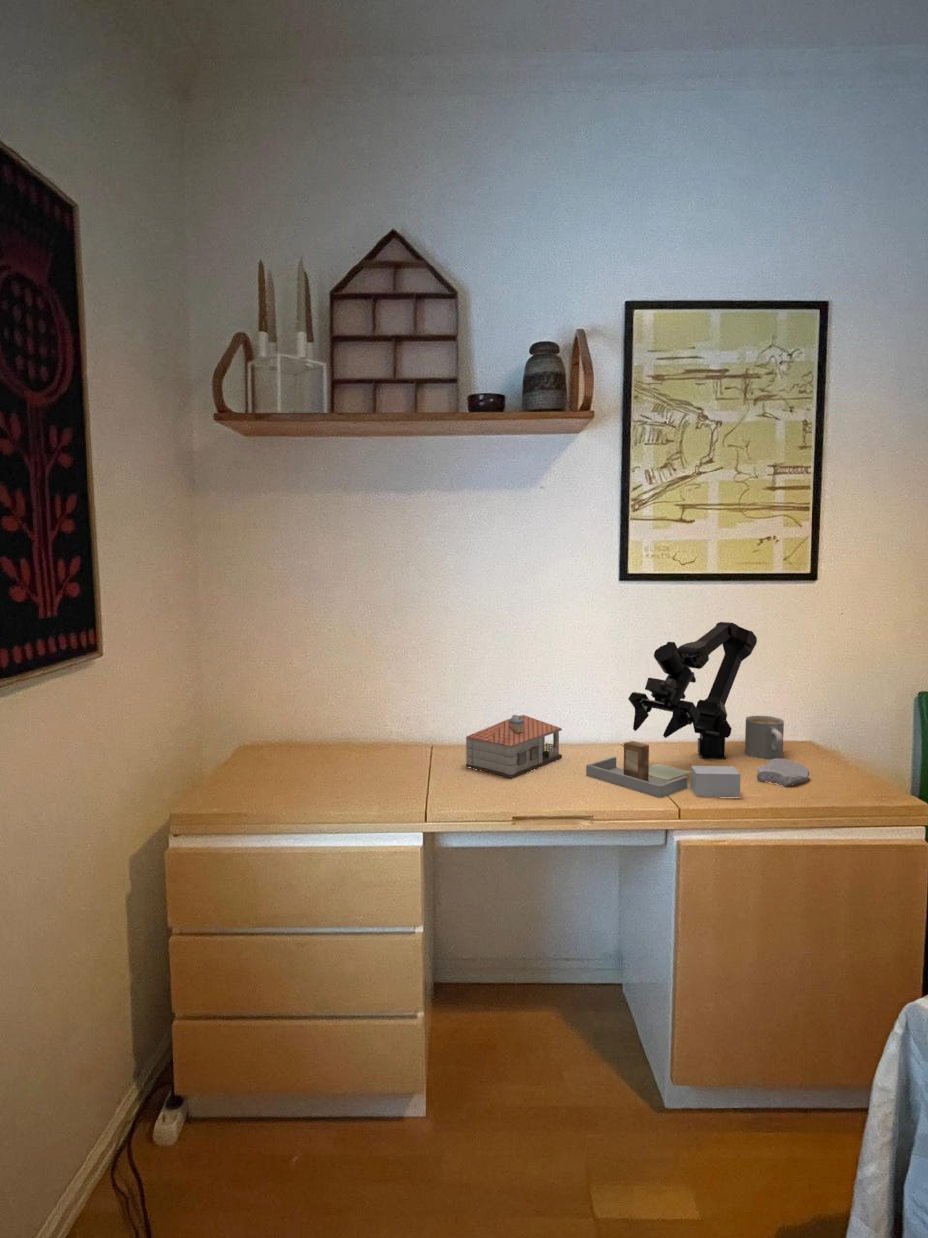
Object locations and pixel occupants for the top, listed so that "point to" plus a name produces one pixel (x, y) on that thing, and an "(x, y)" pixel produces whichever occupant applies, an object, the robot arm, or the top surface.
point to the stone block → (783, 772)
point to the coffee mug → (764, 737)
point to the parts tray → (634, 779)
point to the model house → (512, 747)
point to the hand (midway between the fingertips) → (649, 733)
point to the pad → (665, 772)
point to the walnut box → (636, 760)
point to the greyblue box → (715, 781)
